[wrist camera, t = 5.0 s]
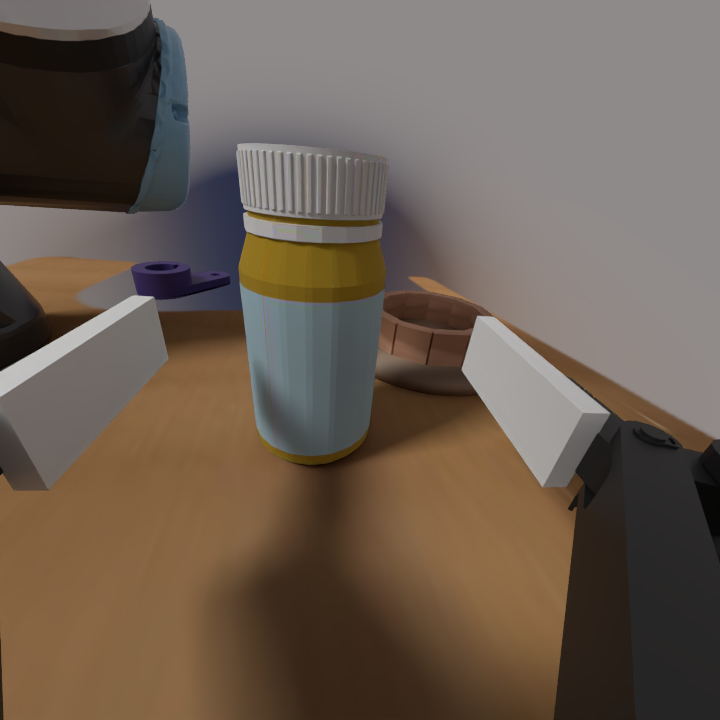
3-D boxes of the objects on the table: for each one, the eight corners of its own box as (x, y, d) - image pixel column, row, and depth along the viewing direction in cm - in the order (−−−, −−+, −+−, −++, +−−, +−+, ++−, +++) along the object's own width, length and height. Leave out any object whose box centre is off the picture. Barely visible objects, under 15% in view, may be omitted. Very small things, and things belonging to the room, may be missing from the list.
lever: (151, 303, 37) (144, 276, 36) (128, 290, 40) (122, 264, 39) (240, 286, 46) (238, 264, 44) (216, 276, 49) (213, 255, 48)
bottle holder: (307, 327, 35) (307, 291, 33) (424, 306, 44) (429, 278, 42) (424, 422, 22) (435, 373, 20) (551, 365, 32) (567, 328, 30)
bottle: (337, 491, 17) (356, 145, 9) (232, 445, 19) (180, 138, 11) (383, 415, 22) (418, 164, 15) (298, 387, 24) (292, 157, 17)
